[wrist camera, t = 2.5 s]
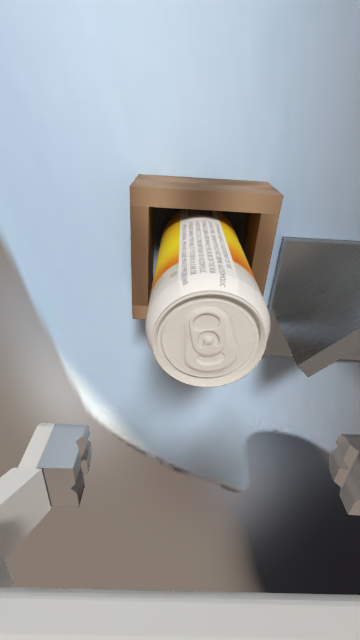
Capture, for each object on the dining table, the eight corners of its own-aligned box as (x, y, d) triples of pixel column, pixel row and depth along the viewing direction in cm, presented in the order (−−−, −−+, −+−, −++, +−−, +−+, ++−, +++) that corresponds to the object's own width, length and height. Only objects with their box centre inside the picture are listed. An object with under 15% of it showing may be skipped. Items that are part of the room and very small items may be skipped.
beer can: (168, 278, 30) (156, 399, 18) (155, 209, 27) (130, 293, 14) (236, 269, 30) (275, 387, 17) (231, 197, 27) (275, 275, 14)
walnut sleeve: (267, 181, 26) (283, 195, 22) (247, 296, 31) (257, 325, 27) (138, 174, 26) (129, 186, 22) (139, 290, 31) (132, 318, 27)
